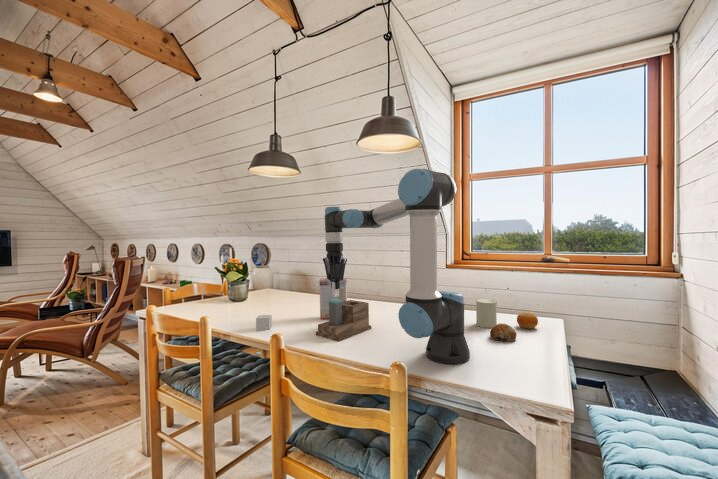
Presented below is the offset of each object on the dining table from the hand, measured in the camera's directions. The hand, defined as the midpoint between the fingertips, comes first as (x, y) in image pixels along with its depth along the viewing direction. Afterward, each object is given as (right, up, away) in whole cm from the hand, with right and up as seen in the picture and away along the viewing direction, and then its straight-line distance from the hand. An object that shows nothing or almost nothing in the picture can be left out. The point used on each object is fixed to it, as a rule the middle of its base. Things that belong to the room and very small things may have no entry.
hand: (335, 296), depth 143 cm
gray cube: (-35, -18, +12) cm, 41 cm away
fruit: (+87, -16, +7) cm, 89 cm away
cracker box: (-3, -17, +30) cm, 34 cm away
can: (+70, -16, +12) cm, 73 cm away
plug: (0, -16, +1) cm, 16 cm away
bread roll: (+70, -16, -8) cm, 72 cm away
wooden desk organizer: (+4, -17, +5) cm, 18 cm away
